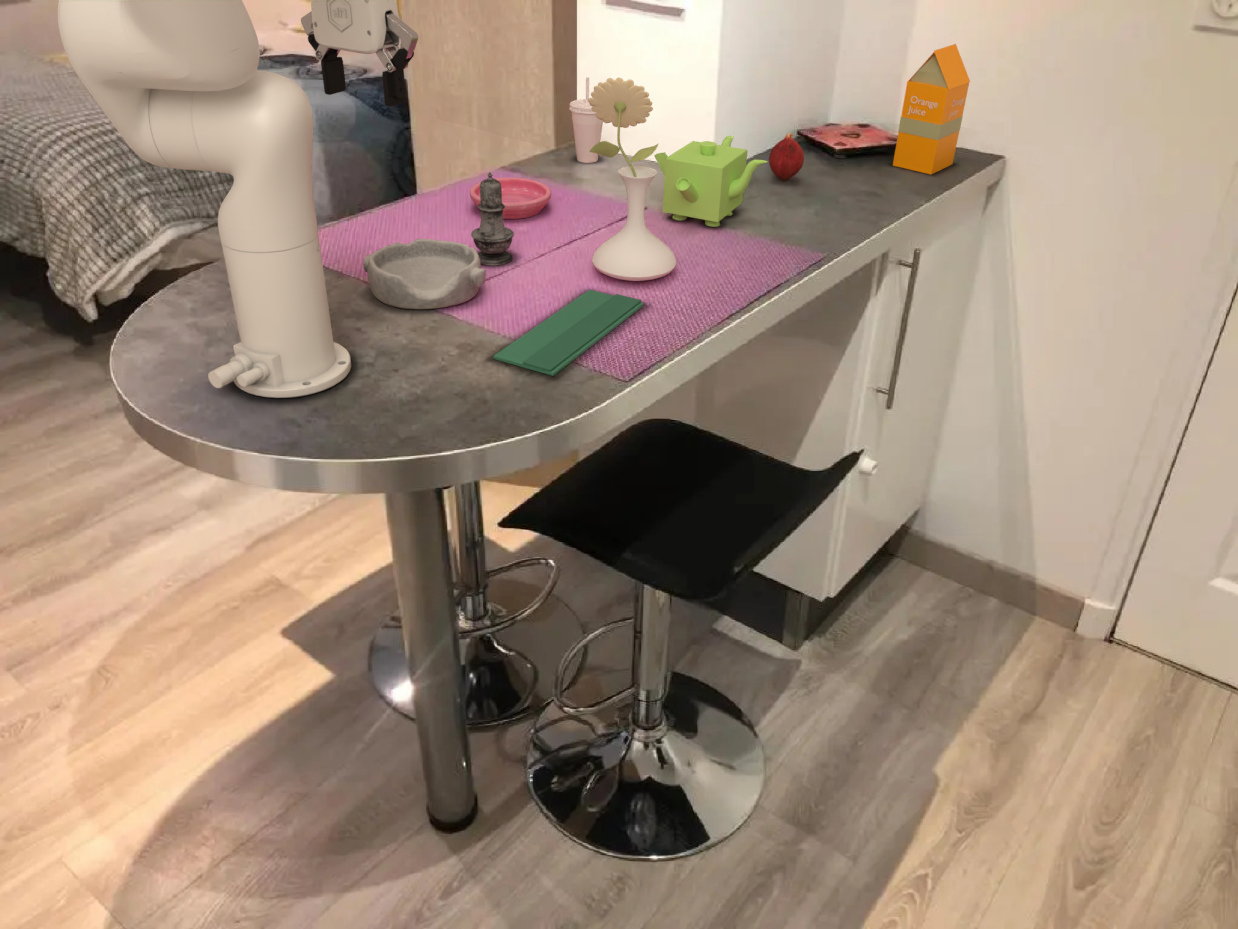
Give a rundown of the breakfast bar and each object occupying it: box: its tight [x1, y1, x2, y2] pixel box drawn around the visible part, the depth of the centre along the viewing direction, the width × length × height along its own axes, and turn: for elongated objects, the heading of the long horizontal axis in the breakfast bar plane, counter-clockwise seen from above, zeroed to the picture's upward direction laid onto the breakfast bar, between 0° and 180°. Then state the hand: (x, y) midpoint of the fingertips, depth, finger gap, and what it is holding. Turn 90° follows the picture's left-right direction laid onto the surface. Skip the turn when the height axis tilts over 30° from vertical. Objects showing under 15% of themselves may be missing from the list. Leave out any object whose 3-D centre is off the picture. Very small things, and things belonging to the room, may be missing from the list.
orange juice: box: [892, 43, 971, 175], centre depth 178 cm, size 8×9×20 cm
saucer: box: [469, 177, 552, 220], centre depth 157 cm, size 12×12×3 cm
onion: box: [768, 132, 805, 182], centre depth 171 cm, size 6×6×8 cm
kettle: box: [654, 135, 769, 227], centre depth 155 cm, size 15×14×11 cm
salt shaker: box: [470, 172, 515, 266], centre depth 138 cm, size 6×6×12 cm
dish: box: [362, 238, 486, 310], centre depth 130 cm, size 14×14×5 cm
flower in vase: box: [588, 77, 677, 282], centre depth 132 cm, size 13×11×25 cm
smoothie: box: [568, 77, 604, 164], centre depth 177 cm, size 6×6×14 cm
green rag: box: [492, 289, 645, 377], centre depth 122 cm, size 22×8×1 cm, turn 152°
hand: (365, 98), depth 126 cm, fingers open, 9 cm apart
